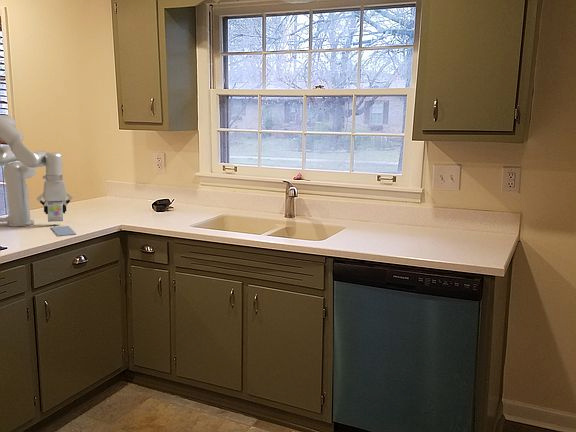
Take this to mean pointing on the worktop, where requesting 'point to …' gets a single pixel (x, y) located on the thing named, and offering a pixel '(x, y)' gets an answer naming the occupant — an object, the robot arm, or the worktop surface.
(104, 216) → the worktop surface
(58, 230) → the rubber mat
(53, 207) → the ink box
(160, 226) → the worktop surface
